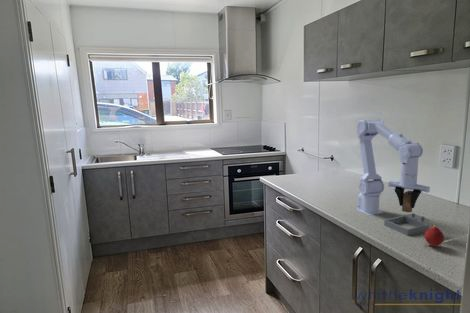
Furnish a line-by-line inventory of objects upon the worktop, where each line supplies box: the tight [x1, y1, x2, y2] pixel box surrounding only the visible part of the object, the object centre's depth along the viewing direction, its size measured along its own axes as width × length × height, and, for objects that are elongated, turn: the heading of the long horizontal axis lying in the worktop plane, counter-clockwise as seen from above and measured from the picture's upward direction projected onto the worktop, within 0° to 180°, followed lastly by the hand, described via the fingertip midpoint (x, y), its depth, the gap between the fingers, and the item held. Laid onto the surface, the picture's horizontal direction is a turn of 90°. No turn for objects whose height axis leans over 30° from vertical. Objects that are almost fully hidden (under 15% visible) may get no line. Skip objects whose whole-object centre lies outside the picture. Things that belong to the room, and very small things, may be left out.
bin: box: [383, 215, 430, 237], centre depth 125 cm, size 11×11×3 cm
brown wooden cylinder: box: [401, 190, 413, 213], centre depth 124 cm, size 4×5×8 cm
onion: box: [423, 225, 445, 248], centre depth 110 cm, size 6×6×8 cm
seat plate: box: [397, 212, 431, 223], centre depth 135 cm, size 9×9×2 cm
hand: (407, 206), depth 124 cm, fingers closed on brown wooden cylinder, 4 cm apart
